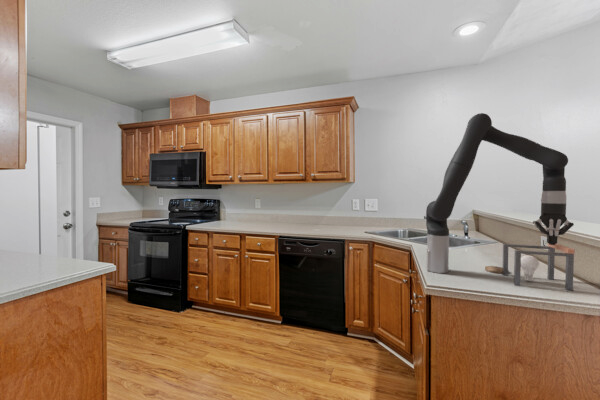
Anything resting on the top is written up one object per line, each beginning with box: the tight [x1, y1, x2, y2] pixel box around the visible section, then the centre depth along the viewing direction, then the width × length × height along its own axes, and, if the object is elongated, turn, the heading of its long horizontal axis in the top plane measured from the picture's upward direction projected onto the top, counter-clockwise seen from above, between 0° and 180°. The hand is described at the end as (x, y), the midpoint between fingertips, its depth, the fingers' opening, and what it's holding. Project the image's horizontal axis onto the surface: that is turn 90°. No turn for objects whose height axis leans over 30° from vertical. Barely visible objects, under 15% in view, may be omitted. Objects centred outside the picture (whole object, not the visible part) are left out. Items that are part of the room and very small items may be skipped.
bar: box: [547, 243, 576, 255], centre depth 113 cm, size 2×16×2 cm, turn 159°
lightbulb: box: [521, 254, 540, 282], centre depth 117 cm, size 6×6×11 cm
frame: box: [501, 243, 575, 292], centre depth 116 cm, size 18×16×14 cm
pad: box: [484, 265, 503, 275], centre depth 132 cm, size 9×9×1 cm
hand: (552, 244), depth 113 cm, fingers closed
